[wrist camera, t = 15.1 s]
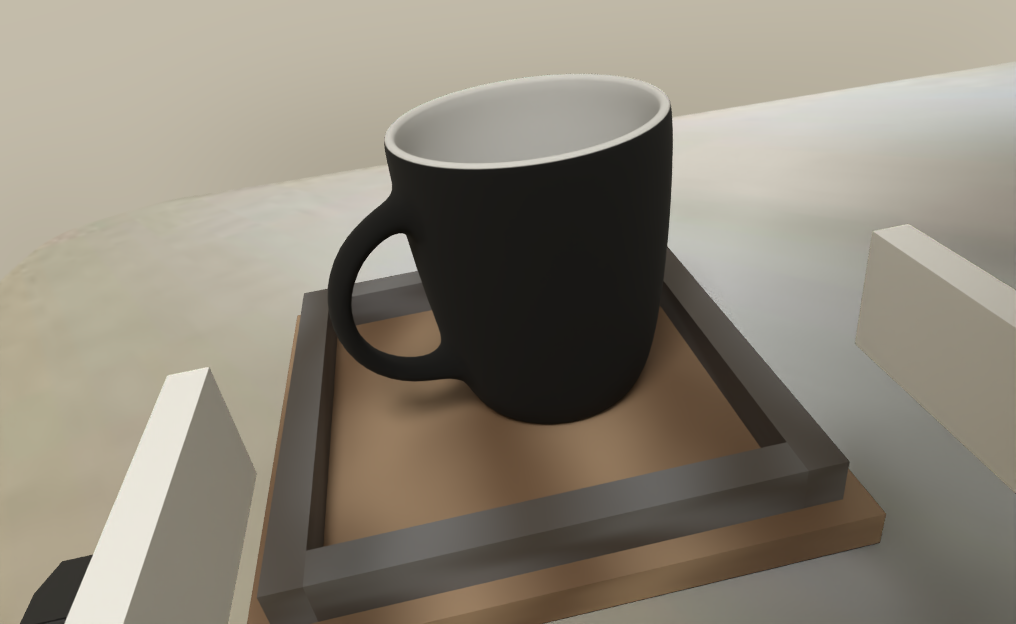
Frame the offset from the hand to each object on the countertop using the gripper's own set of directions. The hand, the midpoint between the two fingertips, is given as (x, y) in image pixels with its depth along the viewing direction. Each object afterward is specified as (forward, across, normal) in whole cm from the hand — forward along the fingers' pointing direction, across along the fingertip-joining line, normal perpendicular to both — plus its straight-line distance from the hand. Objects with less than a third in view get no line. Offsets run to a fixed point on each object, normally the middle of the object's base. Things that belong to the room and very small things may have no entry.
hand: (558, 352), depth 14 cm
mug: (+10, 0, -8) cm, 13 cm away
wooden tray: (+10, 0, -10) cm, 14 cm away
